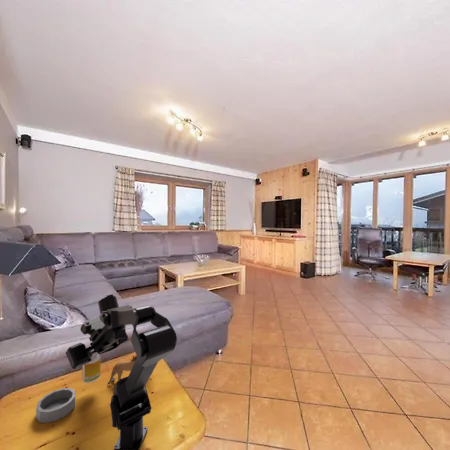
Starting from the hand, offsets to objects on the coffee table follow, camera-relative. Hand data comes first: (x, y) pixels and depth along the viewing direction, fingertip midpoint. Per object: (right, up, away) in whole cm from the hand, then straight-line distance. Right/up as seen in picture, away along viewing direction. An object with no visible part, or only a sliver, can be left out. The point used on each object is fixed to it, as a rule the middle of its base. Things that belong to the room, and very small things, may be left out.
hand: (89, 357), depth 80 cm
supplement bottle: (+1, -7, -1) cm, 7 cm away
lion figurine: (+11, -12, +8) cm, 18 cm away
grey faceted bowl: (-5, -11, -8) cm, 15 cm away
